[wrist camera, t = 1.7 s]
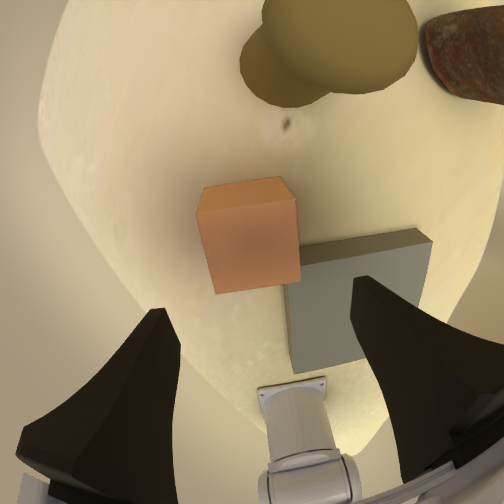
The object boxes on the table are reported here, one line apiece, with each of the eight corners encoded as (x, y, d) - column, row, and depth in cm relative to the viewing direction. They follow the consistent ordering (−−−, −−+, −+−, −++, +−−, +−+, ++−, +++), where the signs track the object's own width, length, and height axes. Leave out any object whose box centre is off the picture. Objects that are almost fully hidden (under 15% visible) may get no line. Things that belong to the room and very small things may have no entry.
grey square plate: (394, 326, 27) (406, 345, 24) (288, 351, 27) (293, 374, 24) (413, 225, 21) (432, 241, 18) (279, 247, 21) (286, 268, 18)
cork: (251, 116, 16) (283, 119, 6) (229, 31, 13) (230, -63, 3) (341, 102, 16) (460, 107, 6) (321, 21, 13) (414, -47, 3)
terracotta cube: (286, 242, 20) (301, 281, 16) (218, 253, 20) (215, 294, 16) (279, 176, 18) (295, 198, 14) (204, 187, 18) (195, 214, 14)
